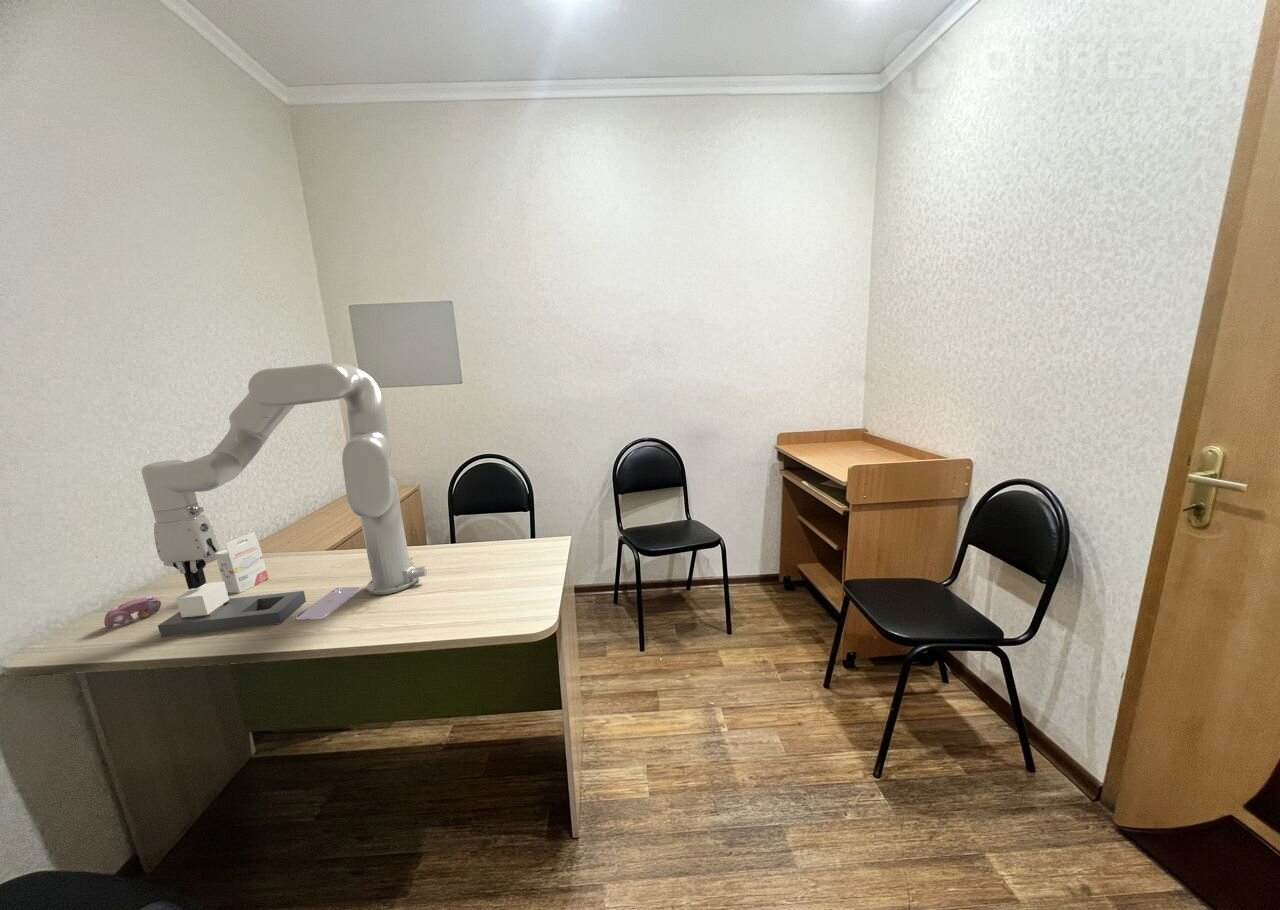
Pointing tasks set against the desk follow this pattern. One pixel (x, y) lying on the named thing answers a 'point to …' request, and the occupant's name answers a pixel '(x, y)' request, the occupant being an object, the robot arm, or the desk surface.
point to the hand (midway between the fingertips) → (197, 586)
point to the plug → (203, 600)
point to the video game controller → (132, 611)
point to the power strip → (237, 614)
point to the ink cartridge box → (242, 564)
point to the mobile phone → (328, 603)
